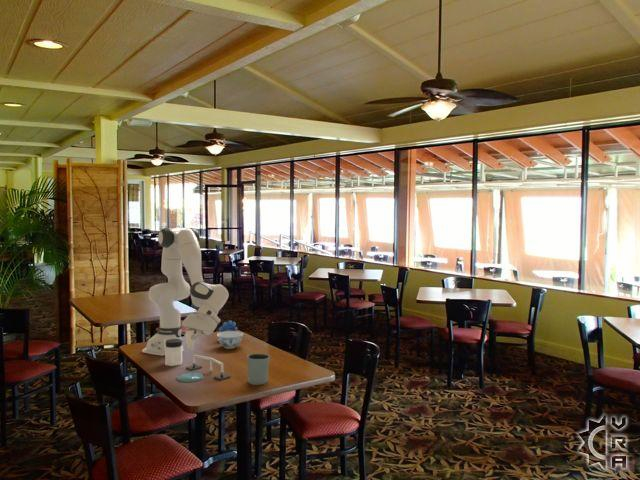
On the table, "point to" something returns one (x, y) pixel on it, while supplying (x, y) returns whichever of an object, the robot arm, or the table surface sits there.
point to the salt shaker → (189, 342)
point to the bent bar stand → (218, 377)
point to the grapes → (228, 326)
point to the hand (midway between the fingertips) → (189, 338)
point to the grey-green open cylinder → (257, 368)
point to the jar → (173, 352)
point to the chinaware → (230, 338)
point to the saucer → (190, 377)
